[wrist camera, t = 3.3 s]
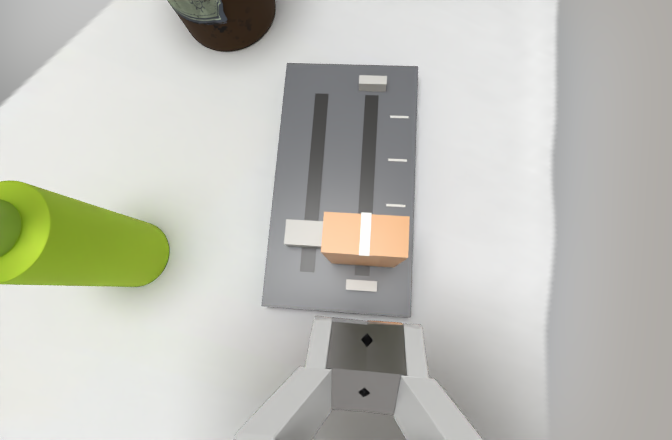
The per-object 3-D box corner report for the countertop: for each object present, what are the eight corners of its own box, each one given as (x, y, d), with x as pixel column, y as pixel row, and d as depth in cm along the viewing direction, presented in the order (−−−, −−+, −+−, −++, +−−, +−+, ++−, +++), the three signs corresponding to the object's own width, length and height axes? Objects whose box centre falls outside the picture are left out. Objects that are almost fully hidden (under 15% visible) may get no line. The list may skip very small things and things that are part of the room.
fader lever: (393, 268, 29) (408, 258, 21) (331, 264, 30) (320, 252, 21) (394, 237, 30) (409, 215, 21) (333, 233, 30) (323, 210, 21)
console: (407, 315, 31) (413, 319, 27) (267, 305, 32) (255, 307, 28) (414, 79, 35) (421, 54, 31) (290, 75, 36) (283, 51, 32)
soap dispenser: (190, 254, 33) (-57, 201, 13) (125, 300, 32) (-229, 313, 13) (159, 203, 34) (-112, 84, 14) (96, 246, 34) (-272, 184, 14)
